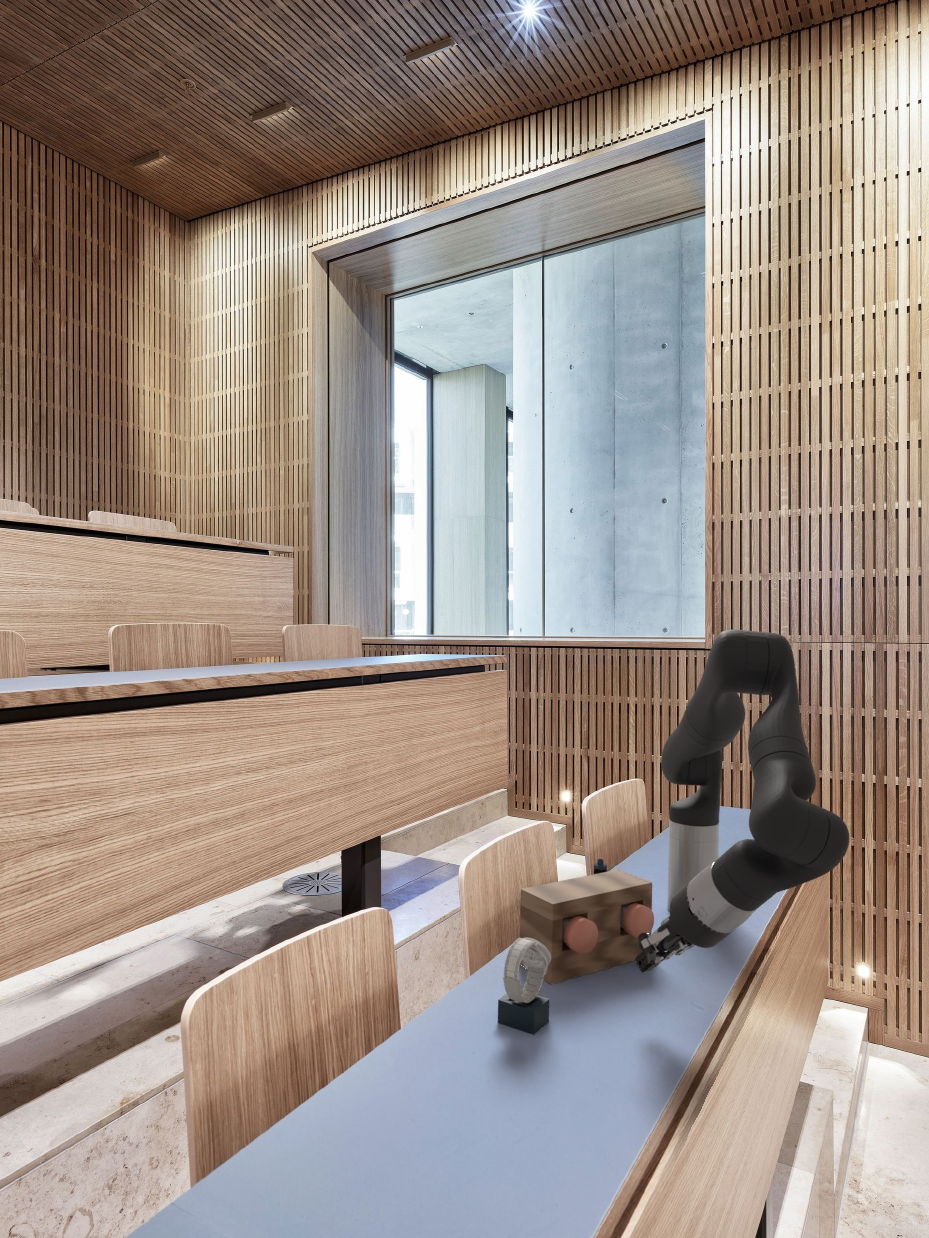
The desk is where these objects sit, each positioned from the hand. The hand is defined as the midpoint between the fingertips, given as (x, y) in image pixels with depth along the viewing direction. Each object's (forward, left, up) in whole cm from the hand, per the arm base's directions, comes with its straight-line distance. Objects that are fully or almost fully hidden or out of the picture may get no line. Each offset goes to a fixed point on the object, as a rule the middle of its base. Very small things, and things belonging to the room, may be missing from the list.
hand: (641, 965), depth 110 cm
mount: (-6, -18, -7) cm, 20 cm away
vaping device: (-17, -29, -7) cm, 34 cm away
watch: (+15, -7, -7) cm, 18 cm away
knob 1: (0, -17, -2) cm, 17 cm away
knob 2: (-12, -17, -2) cm, 21 cm away
